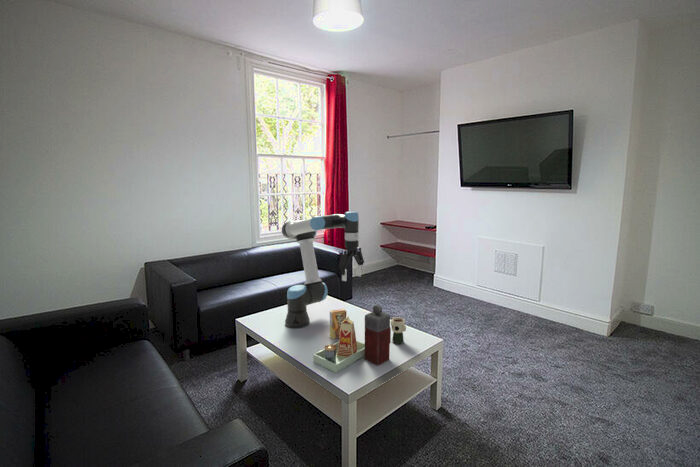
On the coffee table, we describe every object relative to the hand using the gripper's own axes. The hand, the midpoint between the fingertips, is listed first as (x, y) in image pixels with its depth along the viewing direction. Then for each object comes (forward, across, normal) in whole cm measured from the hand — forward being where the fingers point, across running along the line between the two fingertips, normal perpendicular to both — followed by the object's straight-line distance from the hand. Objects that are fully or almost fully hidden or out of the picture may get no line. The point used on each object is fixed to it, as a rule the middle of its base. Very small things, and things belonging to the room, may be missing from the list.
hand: (351, 278), depth 192 cm
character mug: (+34, +11, -24) cm, 43 cm away
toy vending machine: (+34, -10, -26) cm, 45 cm away
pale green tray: (+34, -21, -12) cm, 42 cm away
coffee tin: (+34, -30, -12) cm, 47 cm away
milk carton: (+34, -18, -12) cm, 40 cm away
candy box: (+34, -5, +6) cm, 35 cm away
